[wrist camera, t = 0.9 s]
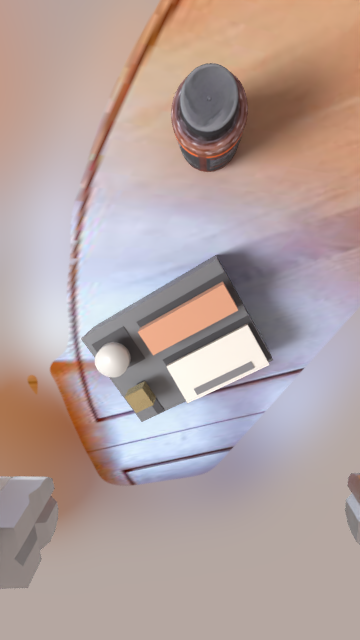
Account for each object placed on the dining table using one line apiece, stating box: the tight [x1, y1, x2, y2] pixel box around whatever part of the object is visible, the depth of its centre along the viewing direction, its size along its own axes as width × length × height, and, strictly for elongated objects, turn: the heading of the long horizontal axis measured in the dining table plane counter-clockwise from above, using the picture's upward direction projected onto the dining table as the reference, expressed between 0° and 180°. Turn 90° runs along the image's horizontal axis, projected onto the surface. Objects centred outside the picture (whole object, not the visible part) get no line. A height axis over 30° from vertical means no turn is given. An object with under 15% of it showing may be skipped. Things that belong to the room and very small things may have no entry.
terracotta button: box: [138, 282, 238, 355], centre depth 31 cm, size 10×3×1 cm, turn 121°
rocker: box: [166, 324, 269, 403], centre depth 33 cm, size 10×5×1 cm, turn 121°
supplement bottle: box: [171, 63, 248, 172], centre depth 25 cm, size 6×6×11 cm
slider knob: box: [125, 381, 156, 413], centre depth 35 cm, size 2×2×2 cm
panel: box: [81, 255, 273, 422], centre depth 36 cm, size 18×13×4 cm
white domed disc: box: [95, 342, 131, 377], centre depth 33 cm, size 4×4×1 cm
